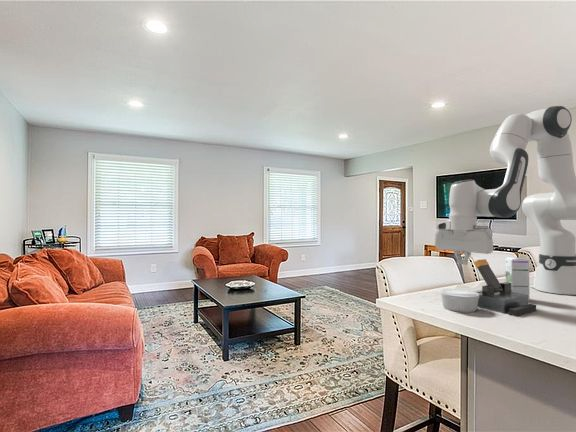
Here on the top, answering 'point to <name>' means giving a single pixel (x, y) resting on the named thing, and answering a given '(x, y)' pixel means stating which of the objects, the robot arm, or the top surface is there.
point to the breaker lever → (488, 275)
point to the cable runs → (522, 310)
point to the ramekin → (460, 300)
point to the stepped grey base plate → (500, 298)
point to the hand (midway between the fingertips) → (462, 264)
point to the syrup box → (518, 275)
